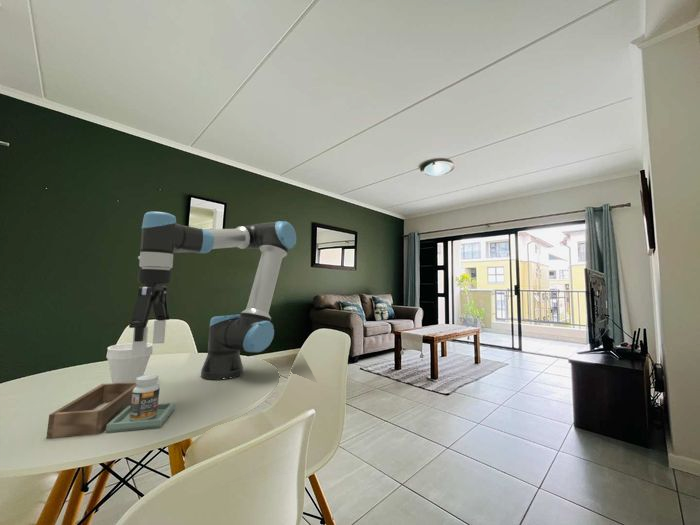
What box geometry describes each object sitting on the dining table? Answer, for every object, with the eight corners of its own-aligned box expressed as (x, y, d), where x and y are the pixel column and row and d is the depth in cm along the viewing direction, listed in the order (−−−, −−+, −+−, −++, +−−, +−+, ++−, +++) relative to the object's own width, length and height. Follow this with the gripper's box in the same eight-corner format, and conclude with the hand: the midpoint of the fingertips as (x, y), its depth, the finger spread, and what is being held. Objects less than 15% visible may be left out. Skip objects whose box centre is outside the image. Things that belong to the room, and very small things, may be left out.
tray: (174, 409, 79) (174, 402, 79) (159, 427, 68) (160, 420, 69) (128, 412, 76) (128, 405, 76) (105, 432, 65) (106, 424, 66)
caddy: (139, 398, 85) (141, 381, 86) (100, 433, 65) (103, 410, 66) (100, 401, 82) (102, 383, 83) (46, 438, 62) (49, 414, 63)
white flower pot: (136, 393, 89) (140, 349, 90) (92, 395, 87) (97, 349, 88) (156, 381, 101) (160, 342, 102) (118, 382, 99) (122, 342, 100)
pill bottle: (142, 423, 69) (146, 381, 70) (123, 420, 70) (127, 379, 71) (162, 413, 74) (165, 375, 75) (144, 411, 76) (148, 373, 77)
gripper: (156, 270, 87) (150, 339, 86) (117, 265, 64) (108, 361, 62) (183, 271, 90) (178, 339, 88) (155, 267, 66) (147, 359, 64)
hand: (149, 348), depth 75 cm, fingers open, 13 cm apart
